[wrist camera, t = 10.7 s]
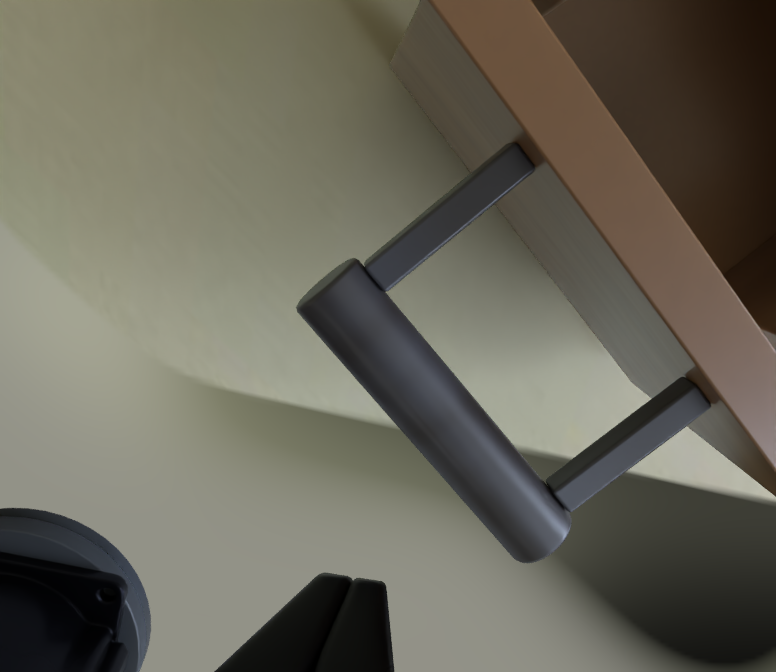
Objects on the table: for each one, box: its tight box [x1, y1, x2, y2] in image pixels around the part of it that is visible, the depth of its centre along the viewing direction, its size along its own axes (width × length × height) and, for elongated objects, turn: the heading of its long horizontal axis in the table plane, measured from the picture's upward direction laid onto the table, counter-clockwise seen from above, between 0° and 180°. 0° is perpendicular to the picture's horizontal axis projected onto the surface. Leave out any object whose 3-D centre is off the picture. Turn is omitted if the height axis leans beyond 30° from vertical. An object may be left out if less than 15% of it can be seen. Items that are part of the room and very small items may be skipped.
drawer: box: [296, 0, 776, 563], centre depth 16 cm, size 17×11×9 cm, turn 129°
